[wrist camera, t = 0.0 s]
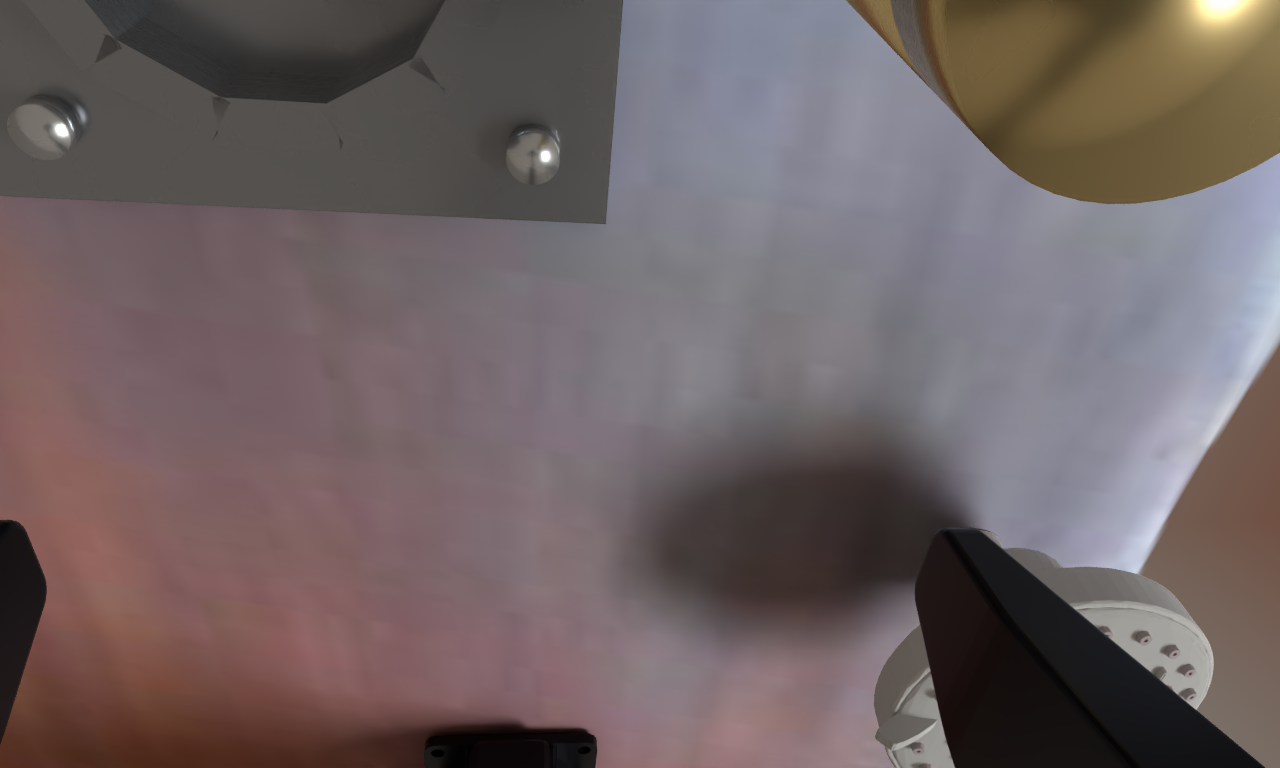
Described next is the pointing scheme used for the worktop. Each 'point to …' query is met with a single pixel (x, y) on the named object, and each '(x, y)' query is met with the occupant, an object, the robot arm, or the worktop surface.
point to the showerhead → (1102, 595)
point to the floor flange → (314, 104)
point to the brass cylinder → (1101, 86)
